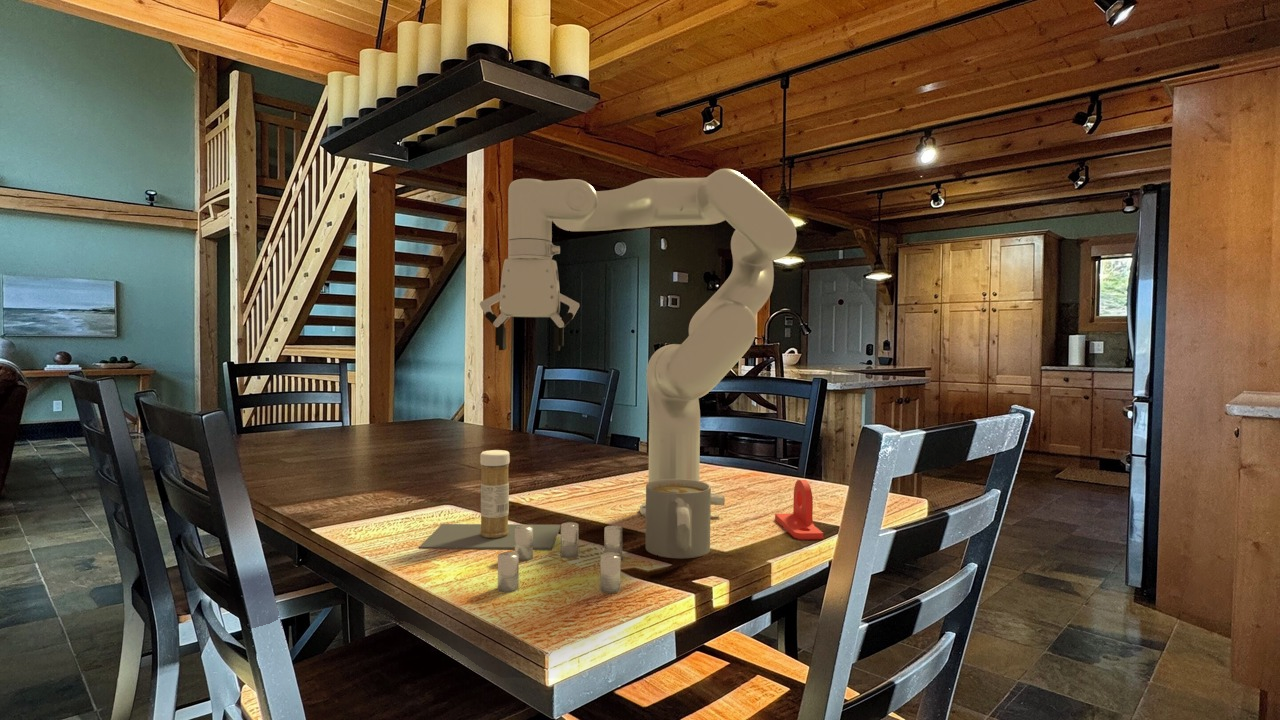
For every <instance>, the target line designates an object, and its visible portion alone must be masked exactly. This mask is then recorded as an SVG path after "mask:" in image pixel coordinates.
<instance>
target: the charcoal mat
mask: <svg viewBox="0 0 1280 720" xmlns="http://www.w3.org/2000/svg"><path fill="white" fill-rule="evenodd" d="M520 525H527V524H525V523H524V524H521V523H520V524H518V523H517V524H509V523H508V530H509V533H508V534H507V535H506V536H503V537H500V538H486V537H483V536H482V535H481V534H480V531H481V523H442V524H440V525H439V527H438V528H437V529H436V530H434V531H433V533H431V535H430V536H428V537H427V538H426V539H425V540H424V541H423V542H422V544H420V545H419V548H418V549H431V550H432V549H439V550H441V549H442V550H447V549H450V550H514V551H515V527H516V526H520ZM529 525H530V526H533V551H536V550H537V551H552V549H553V547H554V544H555V542H556V539H557V536H558V534H559V532H560V531H561V524H529Z"/></svg>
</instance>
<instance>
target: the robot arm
mask: <svg viewBox="0 0 1280 720" xmlns="http://www.w3.org/2000/svg"><path fill="white" fill-rule="evenodd" d="M507 196H508V197H507V199H508V200H507V201H508V207H507V208H508V209H507V211H508V212H507V213H508V215H507V216H508V217H507V218H508V224H507V225H508V228H507V230H508V231H507V232H508V233H507V234H508V236H507V237H508V238H507V240H508V241H507V242H508V243H507V245H508V248H507V249H508V251H507V253H508V255H507V258H505V259H504V262H503V265H502V272H501V279H500V287H499V288H500V291H499V292H497V293H495V294H493V295H492V296H490V297H487V298H485V299H484V300H482V301H480V302H479V306H480V308H481V310H482V312H483V314H484V317H485V318H486V319H487V320H488V321H489V323H491V324H492V325H493V326H494V328H495V346H496V347H497V346H498V351H505V350H506V349H507V328H506V327H505V324H506V323H507V321H508V320H509V319H510V318H511V317H513V318H550V319H551V320H552V321H553V322H554V324H555V328H554V329H553V350H554V351H555V352H559V351H561V347H564V344H565V341H564V339H565V337H564V335H565V334H564V332H565V330H564V329H565V328H566V326H567V325H568V324H569V323H571V321H572V320H573V319H574V317H575V315H576V313H578V312H577V311H578V310H579V308H580V303H579V302H577V300H576V301H575V300H573V299H572V298H570V297H568V296H567V295H564V294H562V293H560V280H559V270H558V263H557V260H555V259H553V256H554V255H560V254H561V246H560V245H554V243H553V242H552V238H553V234H552V233H553V231H552V229H553V228H552V226H553V225H552V224H555V226H556V227H557V228H559V229H562V230H564V231H567V232H569V231H570V232H600V231H613V230H623V229H624V230H625V229H642V228H647V227H649V228H650V227H666V226H667V227H668V226H669V227H670V226H700V225H701V226H705V225H716V224H719V223H722V222H725V221H726V222H727V223H728V224H729V225H730V226H731V227H732V228H733V229H735V230H734V231H733V234H732V236H731V240H730V250H731V255H732V269H731V273H730V274H729V276H728V278H727V279H726V280H725V281H724V283H723V284H722V285H721V286H720V287H719V289H717V291H716V292H715V293H713V295H712V296H711V297H710V298H709V299H708V300H707V301H706V302H705V303H704V304H703V305H702V306H701V307H700V308H699V309H698V310H697V311H696V312H695V313H694V315H693V316H692V318H691V319H690V322H689V325H688V336H687V338H686V339H685V340H684V341H683V342H682V343H680V344H678V343H672V344H667V345H664V346H662V347H660V348H658V349H657V350H656V351H654V353H653V354H652V355H651V357H650V358H649V361H648V363H647V367H646V386H647V387H646V388H647V396H648V397H647V398H648V413H649V414H648V417H649V418H648V419H649V420H648V422H649V423H648V483H649V482H652V481H656V480H662V479H689V480H696V481H700V457H701V456H700V454H701V453H700V451H701V450H700V447H701V409H700V400H699V399H701V398H702V397H704V396H706V395H707V394H709V392H711V391H712V390H713V389H714V388H715V387H716V386H718V384H719V383H720V382H721V381H722V380H723V379H724V378H725V376H727V374H729V372H730V371H731V370H732V369H733V368H734V366H735V365H737V363H738V362H739V361H740V360H741V359H742V357H744V355H745V354H746V353H747V351H748V350H749V349H750V348H751V346H752V344H753V343H754V340H755V337H756V334H757V320H756V317H755V316H756V315H757V314H758V312H759V311H760V310H761V309H762V308H763V306H764V305H765V304H766V303H767V301H768V300H769V298H770V296H771V293H772V292H773V287H774V280H775V279H774V278H775V274H774V271H775V269H774V262H773V261H776V260H780V259H782V258H784V257H786V256H787V255H788V254H790V252H791V251H792V250H793V249H794V247H795V244H796V241H797V238H798V237H797V230H796V226H795V223H794V221H793V220H792V218H791V217H790V216H789V215H788V213H786V211H785V210H784V209H783V208H782V207H780V206H779V205H778V204H777V203H776V202H775V201H773V200H772V199H771V198H770V197H769V196H768V194H766V193H765V192H764V191H763V190H761V189H760V188H759V187H758V186H757V185H756V184H754V183H753V181H751V180H750V179H749V178H748V177H746V176H745V175H744V174H741V172H739V171H737V170H734V169H732V168H720V169H718V170H715V171H713V172H712V173H711V174H709V175H708V176H707V177H706V176H705V177H683V178H682V177H679V178H678V177H673V178H672V177H671V178H669V177H668V178H667V177H666V178H665V177H661V178H660V177H658V178H655V177H653V178H646V179H643V180H639V181H637V182H635V183H631V184H629V185H626V186H623V187H620V188H616V189H615V188H614V189H609V190H600V191H598V190H597V191H596V190H595V188H594V186H592V185H591V184H590V183H588V182H587V181H585V180H583V179H576V178H568V179H567V178H566V179H558V180H542V179H537V178H520V179H516V180H513V181H511V182H510V184H509V186H508V195H507ZM497 303H499V311H500V314H499V315H498V316H496V314H495V313H494V312H493V310H492V307H491V306H493V305H495V304H497ZM561 303H563V304H564V305H567V306H568V307H569V309H568V312H566V314H565V315H564V316H563V317H561V316H560V311H561ZM725 499H726V498H725V495H724V494H717V493H716V492H714V493H713V492H711V505H712V506H725ZM639 513H640V514H641V515H642V516H643V517H644V518H646V502H644V503H641V505H640V506H639Z"/></svg>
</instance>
